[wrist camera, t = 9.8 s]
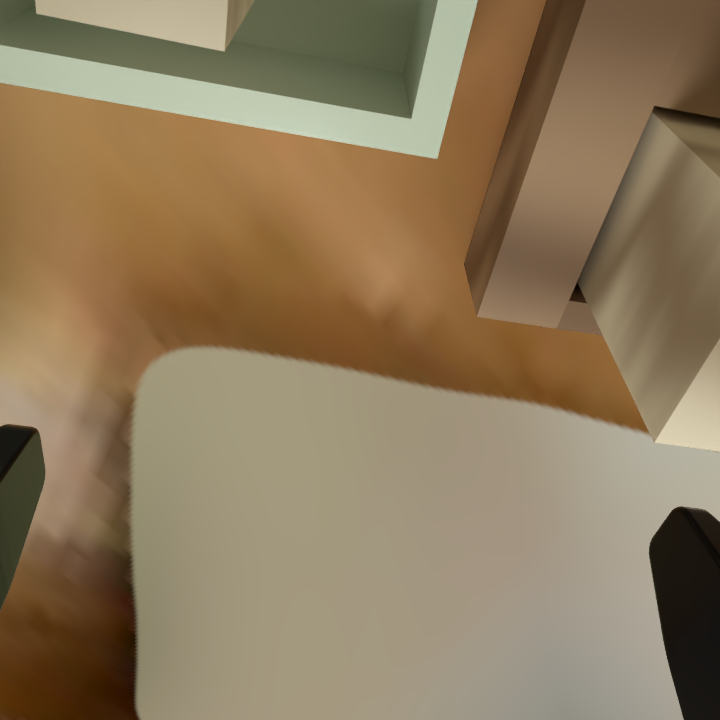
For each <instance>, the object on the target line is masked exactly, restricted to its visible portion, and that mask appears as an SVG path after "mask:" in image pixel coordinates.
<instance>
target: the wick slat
mask: <svg viewBox="0 0 720 720" xmlns="http://www.w3.org/2000/svg"><path fill="white" fill-rule="evenodd" d="M577 283H578V285H579V287H580V289H581V291H582V293H583V295H584V297H585V300H586V302H587V304H588V306H589V308H590V310H591V312H592V314H593V316H594V318H595V320H596V322H597V324H598V327H599V329H600V331H601V333H602V335H603V337H604V339H605V341H606V343H607V345H608V347H609V349H610V352H611V354H612V356H613V358H614V360H615V362H616V364H617V366H618V368H619V370H620V372H621V374H622V376H623V379H624V381H625V383H626V385H627V387H628V389H629V391H630V393H631V395H632V397H633V399H634V401H635V403H636V406H637V408H638V410H639V412H640V414H641V416H642V418H643V420H644V422H645V424H646V426H647V428H648V430H649V433H650V435H651V437H652V439H653V441H654V443H662V444H669V445H677V446H684V447H692V448H699V449H707V450H715V451H720V118H716V117H711V116H706V115H700V114H695V113H690V112H685V111H679V110H674V109H669V108H664V107H658V106H654V108H653V110H652V112H651V114H650V117H649V119H648V121H647V124H646V126H645V128H644V130H643V133H642V135H641V137H640V139H639V142H638V144H637V146H636V149H635V151H634V153H633V155H632V158H631V160H630V162H629V165H628V167H627V169H626V171H625V174H624V176H623V178H622V180H621V183H620V185H619V187H618V190H617V192H616V194H615V196H614V199H613V201H612V203H611V206H610V208H609V210H608V212H607V215H606V217H605V219H604V221H603V224H602V226H601V228H600V231H599V233H598V235H597V237H596V240H595V242H594V244H593V247H592V249H591V251H590V253H589V256H588V258H587V260H586V262H585V265H584V267H583V269H582V272H581V274H580V276H579V278H578V281H577Z"/></svg>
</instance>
